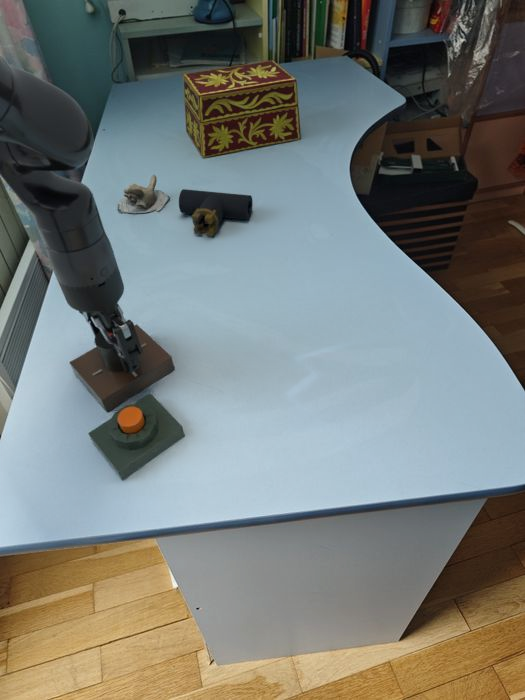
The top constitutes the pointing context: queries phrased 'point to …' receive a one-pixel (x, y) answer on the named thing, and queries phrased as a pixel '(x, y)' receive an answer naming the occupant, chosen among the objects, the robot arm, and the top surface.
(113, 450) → the button box
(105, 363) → the dial knob
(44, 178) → the robot arm
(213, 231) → the pipe connector
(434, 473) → the top surface
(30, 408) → the top surface
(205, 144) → the decorative box
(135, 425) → the button
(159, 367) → the dial base block
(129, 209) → the tan irregular piece
